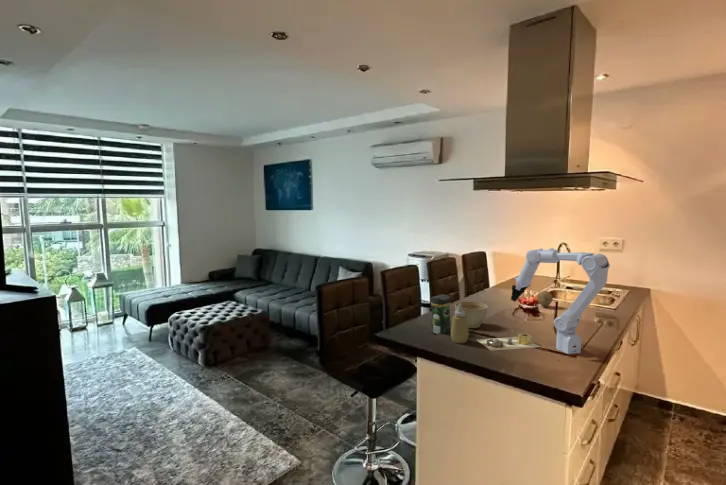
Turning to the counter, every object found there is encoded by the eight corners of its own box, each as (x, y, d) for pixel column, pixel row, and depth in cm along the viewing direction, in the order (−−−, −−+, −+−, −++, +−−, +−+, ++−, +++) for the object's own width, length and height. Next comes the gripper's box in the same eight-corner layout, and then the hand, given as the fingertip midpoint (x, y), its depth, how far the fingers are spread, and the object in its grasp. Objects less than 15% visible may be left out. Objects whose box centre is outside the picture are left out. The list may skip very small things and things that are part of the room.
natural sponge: (548, 309, 237) (548, 293, 236) (533, 307, 243) (533, 290, 242) (555, 307, 243) (555, 290, 242) (540, 304, 249) (540, 288, 248)
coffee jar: (439, 328, 204) (440, 292, 202) (453, 331, 198) (453, 294, 196) (427, 332, 197) (428, 295, 195) (441, 336, 191) (441, 298, 190)
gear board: (540, 349, 174) (540, 341, 173) (490, 352, 170) (491, 344, 170) (522, 338, 188) (522, 331, 187) (476, 341, 184) (476, 334, 183)
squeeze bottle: (455, 338, 188) (455, 300, 186) (471, 342, 183) (472, 303, 181) (447, 343, 182) (447, 304, 180) (463, 347, 177) (464, 307, 175)
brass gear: (533, 344, 177) (533, 336, 176) (522, 345, 176) (522, 337, 175) (526, 340, 182) (526, 332, 182) (515, 341, 181) (515, 333, 181)
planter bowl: (473, 332, 196) (473, 311, 195) (448, 324, 209) (448, 304, 208) (493, 326, 206) (494, 305, 205) (468, 319, 219) (468, 299, 218)
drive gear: (506, 347, 174) (506, 341, 174) (491, 348, 173) (491, 342, 172) (498, 341, 181) (498, 336, 180) (483, 342, 179) (484, 337, 179)
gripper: (523, 265, 191) (512, 288, 197) (514, 273, 180) (502, 298, 185) (537, 272, 188) (525, 295, 193) (529, 281, 176) (517, 306, 182)
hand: (515, 297), depth 189 cm, fingers open, 7 cm apart
